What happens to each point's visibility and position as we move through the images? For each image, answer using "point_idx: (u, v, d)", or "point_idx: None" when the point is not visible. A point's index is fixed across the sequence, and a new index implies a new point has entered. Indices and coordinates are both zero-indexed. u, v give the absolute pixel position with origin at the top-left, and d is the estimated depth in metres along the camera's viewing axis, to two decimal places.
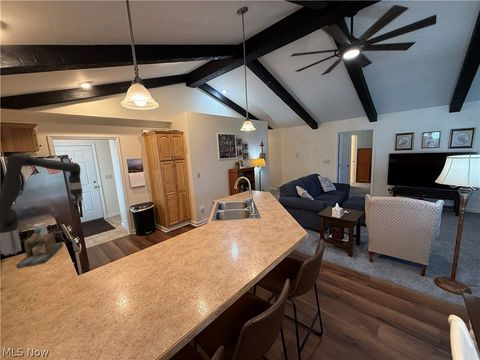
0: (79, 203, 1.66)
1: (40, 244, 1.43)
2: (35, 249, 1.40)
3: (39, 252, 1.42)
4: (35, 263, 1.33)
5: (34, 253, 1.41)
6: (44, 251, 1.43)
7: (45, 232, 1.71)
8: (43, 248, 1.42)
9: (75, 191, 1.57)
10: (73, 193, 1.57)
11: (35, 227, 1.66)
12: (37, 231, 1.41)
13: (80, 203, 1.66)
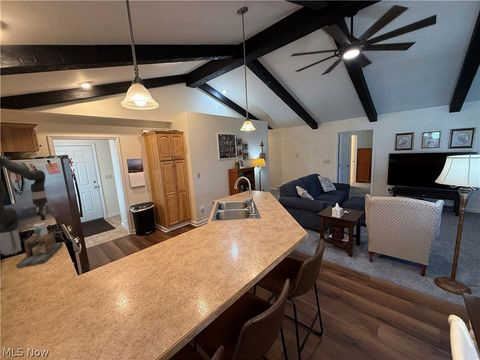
0: None
1: (40, 244, 1.43)
2: (35, 249, 1.40)
3: (39, 252, 1.42)
4: (35, 263, 1.33)
5: (34, 253, 1.41)
6: (44, 251, 1.43)
7: (45, 232, 1.71)
8: (43, 248, 1.42)
9: (37, 201, 1.44)
10: (36, 203, 1.44)
11: (35, 227, 1.66)
12: (37, 231, 1.41)
13: None
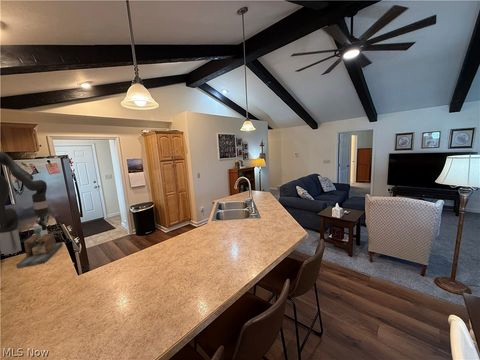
0: None
1: (40, 244, 1.43)
2: (35, 249, 1.40)
3: (39, 252, 1.42)
4: (35, 263, 1.33)
5: (34, 253, 1.41)
6: (44, 251, 1.43)
7: (45, 232, 1.71)
8: (43, 248, 1.42)
9: (39, 211, 1.44)
10: (37, 213, 1.44)
11: (35, 227, 1.66)
12: (37, 231, 1.41)
13: None
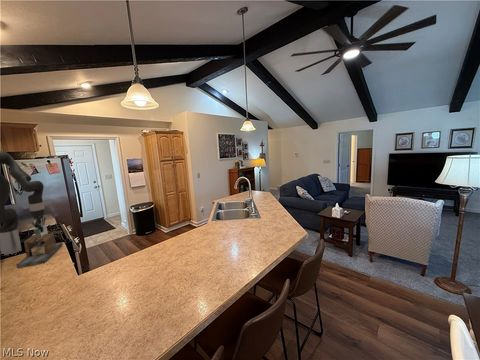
0: (40, 228, 1.45)
1: (39, 245, 1.42)
2: (34, 250, 1.40)
3: (38, 253, 1.41)
4: (35, 263, 1.33)
5: (33, 254, 1.40)
6: (43, 252, 1.42)
7: (45, 232, 1.71)
8: (42, 249, 1.41)
9: (35, 213, 1.40)
10: (33, 215, 1.40)
11: None
12: (36, 231, 1.40)
13: None
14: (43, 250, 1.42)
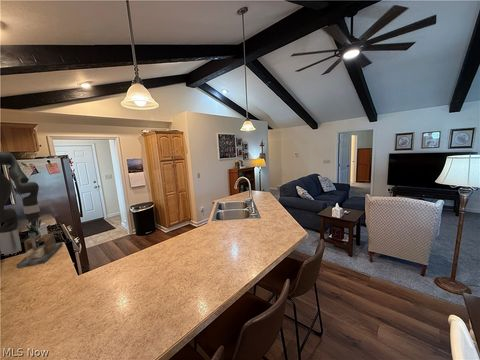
0: (35, 232, 1.39)
1: (34, 248, 1.36)
2: (29, 254, 1.34)
3: (33, 257, 1.35)
4: (35, 263, 1.33)
5: (28, 258, 1.34)
6: (38, 256, 1.36)
7: (45, 232, 1.71)
8: (37, 253, 1.35)
9: (30, 216, 1.34)
10: (28, 218, 1.34)
11: None
12: (31, 235, 1.34)
13: None
14: (38, 254, 1.36)
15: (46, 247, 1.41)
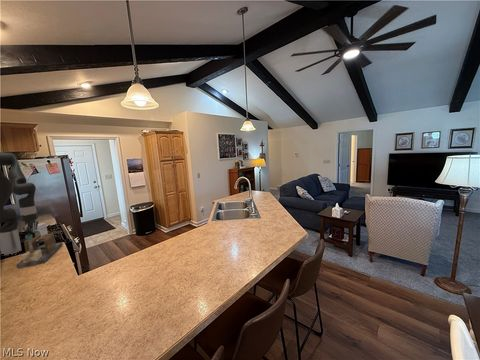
0: (32, 234, 1.36)
1: (31, 251, 1.33)
2: (25, 257, 1.30)
3: (30, 260, 1.31)
4: (35, 263, 1.33)
5: (24, 261, 1.30)
6: (35, 259, 1.32)
7: (45, 232, 1.71)
8: (34, 255, 1.32)
9: (26, 217, 1.31)
10: (24, 220, 1.30)
11: None
12: (28, 237, 1.31)
13: None
14: (35, 257, 1.32)
15: (46, 247, 1.41)
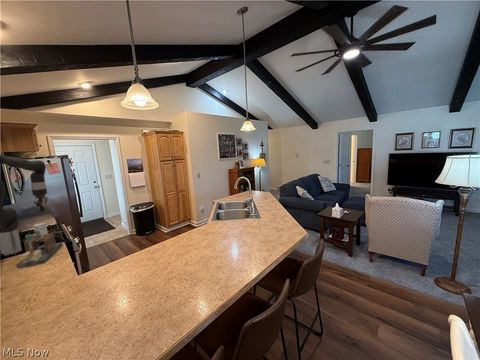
0: None
1: (31, 251, 1.33)
2: (25, 257, 1.30)
3: (30, 260, 1.31)
4: (35, 263, 1.33)
5: (24, 261, 1.30)
6: (35, 259, 1.32)
7: (45, 232, 1.71)
8: (34, 255, 1.32)
9: (37, 192, 1.42)
10: (35, 194, 1.42)
11: (35, 227, 1.66)
12: (28, 237, 1.31)
13: None
14: (35, 257, 1.32)
15: (46, 247, 1.41)
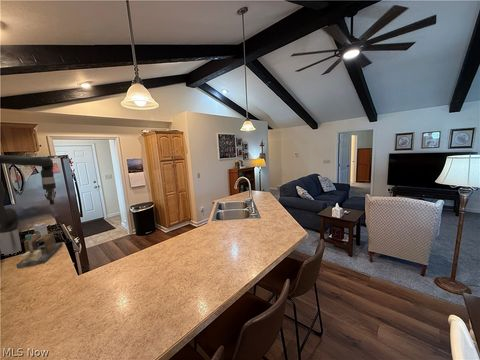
0: None
1: (31, 251, 1.33)
2: (25, 257, 1.30)
3: (30, 260, 1.31)
4: (35, 263, 1.33)
5: (24, 261, 1.30)
6: (35, 259, 1.32)
7: (45, 232, 1.71)
8: (34, 255, 1.32)
9: (47, 186, 1.54)
10: (45, 188, 1.54)
11: (35, 227, 1.66)
12: (28, 237, 1.31)
13: None
14: (35, 257, 1.32)
15: (46, 247, 1.41)
